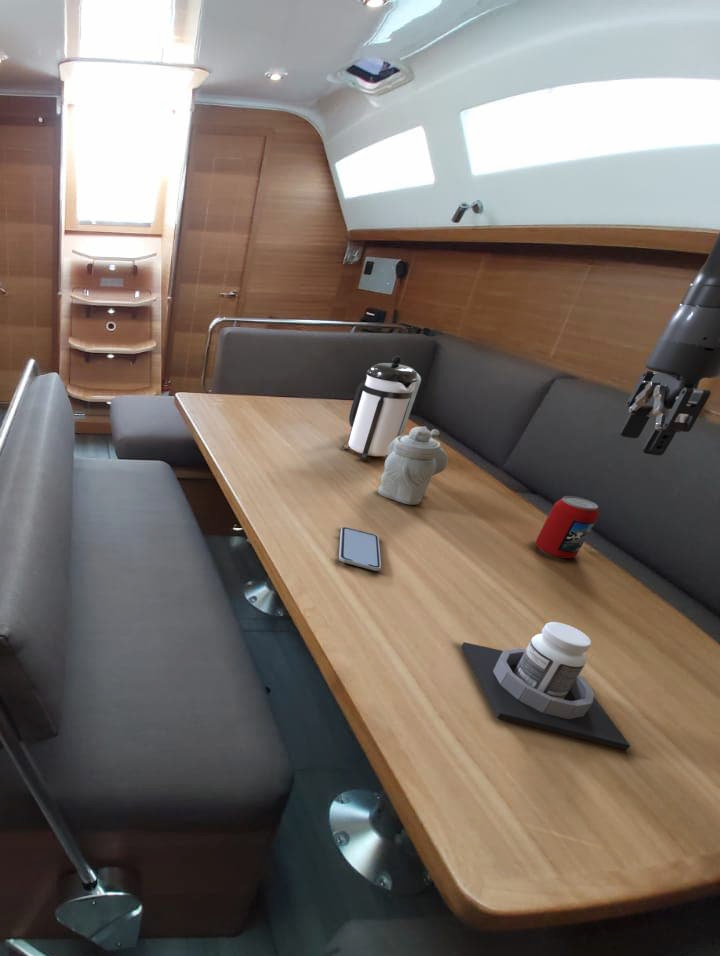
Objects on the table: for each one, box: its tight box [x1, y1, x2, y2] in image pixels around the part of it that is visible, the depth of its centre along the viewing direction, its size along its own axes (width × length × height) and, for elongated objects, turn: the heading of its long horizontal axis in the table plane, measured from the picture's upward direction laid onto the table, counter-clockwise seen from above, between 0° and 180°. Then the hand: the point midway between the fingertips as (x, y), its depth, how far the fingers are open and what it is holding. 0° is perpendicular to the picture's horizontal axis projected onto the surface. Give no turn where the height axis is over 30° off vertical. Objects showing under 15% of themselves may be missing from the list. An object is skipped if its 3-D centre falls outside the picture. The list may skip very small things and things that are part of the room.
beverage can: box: [534, 495, 600, 559], centre depth 103 cm, size 7×7×12 cm
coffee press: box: [341, 355, 418, 462], centre depth 147 cm, size 17×16×30 cm
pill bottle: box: [514, 621, 592, 699], centre depth 68 cm, size 6×6×10 cm
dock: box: [461, 641, 631, 751], centre depth 70 cm, size 14×14×4 cm
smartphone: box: [338, 526, 382, 572], centre depth 103 cm, size 7×1×15 cm
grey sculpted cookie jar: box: [378, 426, 448, 506], centre depth 125 cm, size 16×15×19 cm
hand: (639, 445), depth 78 cm, fingers open, 8 cm apart
